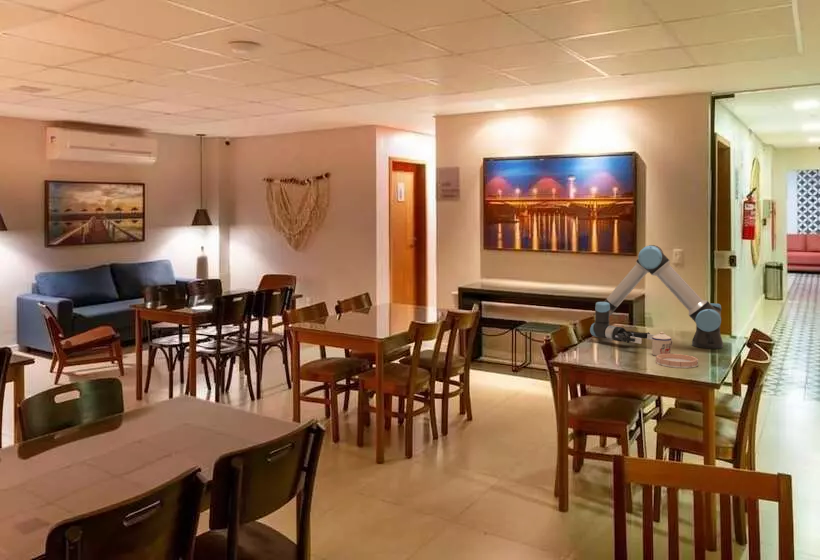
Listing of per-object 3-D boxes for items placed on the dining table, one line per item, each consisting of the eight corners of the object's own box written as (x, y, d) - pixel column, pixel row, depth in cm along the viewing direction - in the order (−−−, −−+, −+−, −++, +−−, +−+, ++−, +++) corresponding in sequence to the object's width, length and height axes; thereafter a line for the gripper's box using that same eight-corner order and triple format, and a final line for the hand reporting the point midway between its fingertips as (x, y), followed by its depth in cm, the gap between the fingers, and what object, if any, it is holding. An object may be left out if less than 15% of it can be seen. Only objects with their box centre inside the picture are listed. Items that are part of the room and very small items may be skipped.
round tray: (671, 358, 326) (671, 352, 326) (705, 364, 311) (705, 359, 311) (648, 362, 316) (648, 356, 316) (682, 369, 301) (682, 363, 301)
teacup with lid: (661, 357, 327) (662, 334, 326) (647, 354, 335) (648, 331, 334) (679, 355, 332) (680, 332, 331) (664, 352, 340) (665, 329, 339)
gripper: (631, 338, 364) (664, 344, 346) (600, 342, 350) (633, 349, 333) (631, 324, 363) (665, 330, 346) (600, 328, 350) (634, 334, 332)
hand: (649, 339), depth 339 cm, fingers open, 13 cm apart
